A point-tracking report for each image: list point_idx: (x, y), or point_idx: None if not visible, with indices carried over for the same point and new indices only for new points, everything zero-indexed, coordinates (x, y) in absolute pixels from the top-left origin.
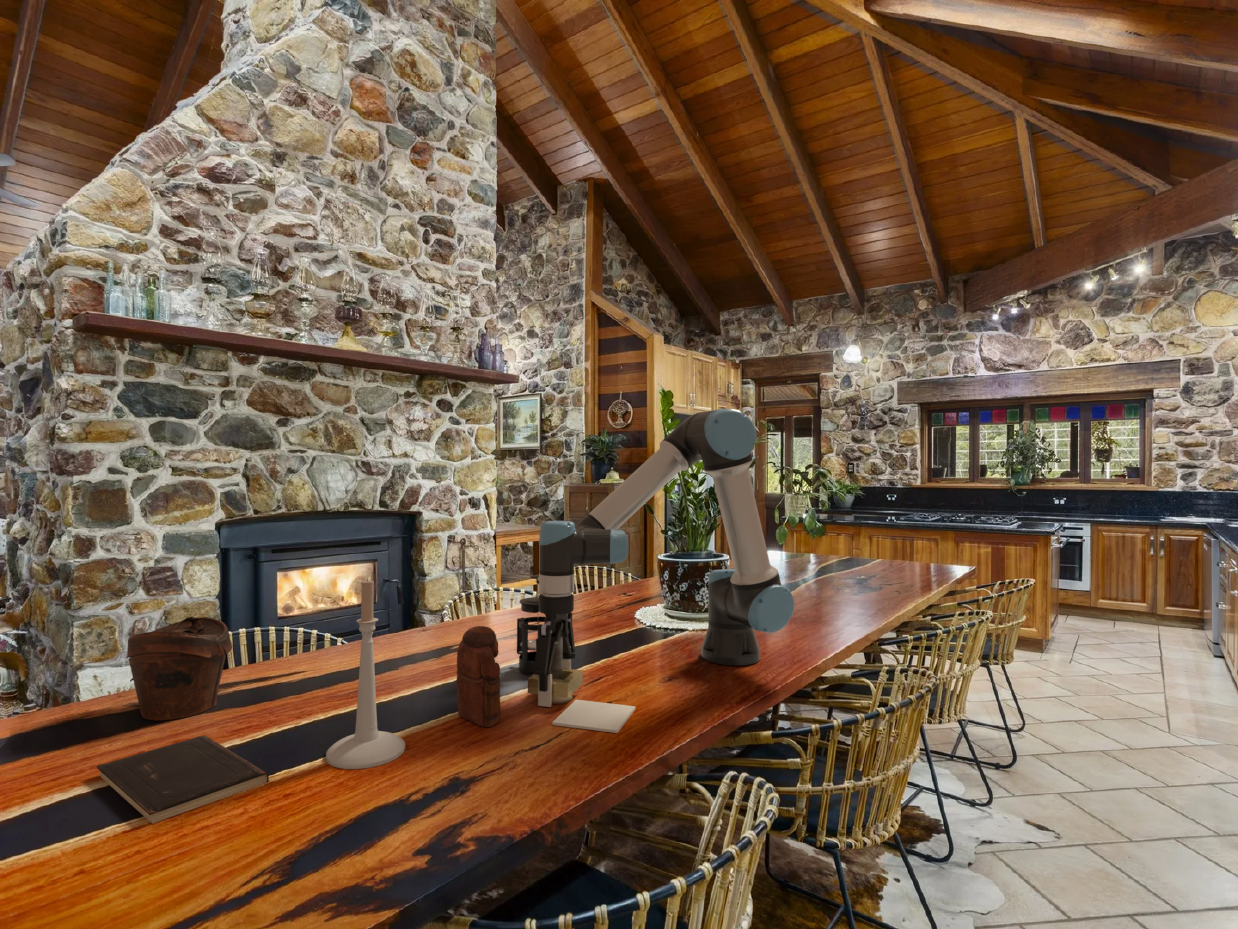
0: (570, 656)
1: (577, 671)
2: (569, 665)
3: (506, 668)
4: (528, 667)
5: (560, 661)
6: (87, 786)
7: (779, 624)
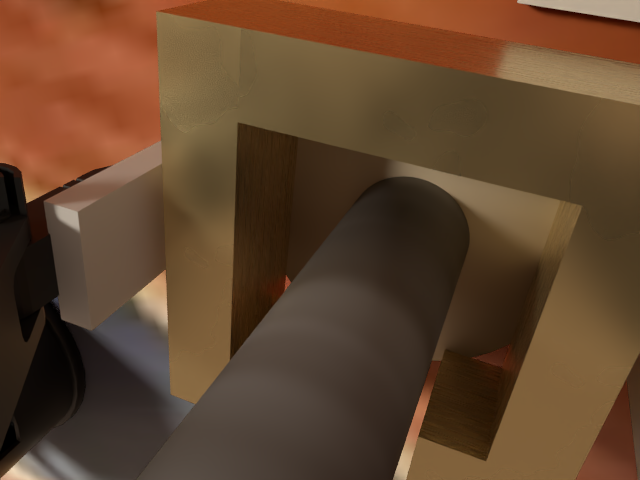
0: (13, 223)
1: (215, 71)
2: (118, 192)
3: (43, 464)
4: (49, 409)
5: (361, 364)
6: None
7: None
